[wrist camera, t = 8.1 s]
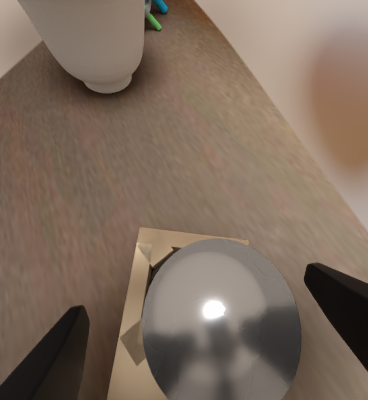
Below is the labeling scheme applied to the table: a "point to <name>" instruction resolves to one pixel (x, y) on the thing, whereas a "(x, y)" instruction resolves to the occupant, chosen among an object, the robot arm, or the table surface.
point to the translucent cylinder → (221, 325)
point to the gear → (159, 4)
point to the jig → (133, 311)
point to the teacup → (92, 38)
